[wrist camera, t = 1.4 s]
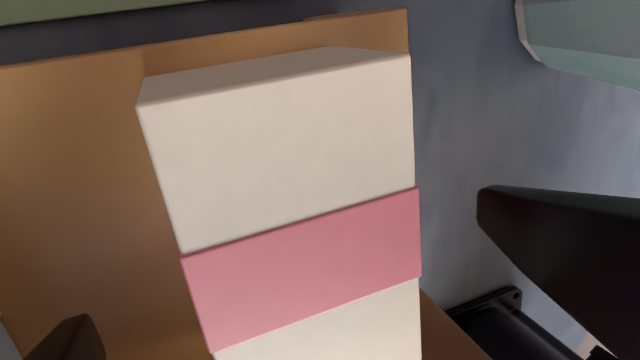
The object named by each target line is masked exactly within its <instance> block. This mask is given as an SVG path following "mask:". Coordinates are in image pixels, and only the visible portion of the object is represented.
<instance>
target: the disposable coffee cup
mask: <svg viewBox="0 0 640 360" xmlns="http://www.w3.org/2000/svg"><path fill="white" fill-rule="evenodd" d="M514 7H515V13H516V20H517V27H518V34H519V40H520V41H521V42H522V44H523V45H524V46H525V48H526V49H527V50H528V51H529V53H530V54H531V55H532V56H533V58H534V59H535V60H536V61H540V62H542V63H543V64H544V65H545V67H546V68H550V69H555V70H559V71H563V72H567V73H571V74H575V75H579V76H583V77H587V78H592V79H596V80H600V81H604V82H608V83H612V84H616V85H620V86H624V87H629V88H633V89H637V90H640V0H516V1H515V5H514Z"/></svg>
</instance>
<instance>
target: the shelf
mask: <svg viewBox="0 0 640 360" xmlns="http://www.w3.org/2000/svg"><path fill="white" fill-rule="evenodd" d="M326 46H339V47H350V48H361V49H372V50H383V51H393V52H404V53H408V54H409V42H408V16H407V8H406V7H396V8H386V9H375V10H365V11H354V12H343V13H335V14H328V15H321V16H314V17H307V18H304V19H303V21H300V22H294V23H287V24H280V25H273V26H266V27H260V28H253V29H246V30H239V31H233V32H226V33H219V34H212V35H205V36H199V37H192V38H185V39H178V40H172V41H165V42H158V43H151V44H144V45H138V46H131V47H124V48H117V49H111V50H104V51H97V52H90V53H84V54H77V55H70V56H63V57H56V58H50V59H43V60H36V61H29V62H23V63H16V64H9V65H2V66H0V313H1V315H0V320H1V322H2V323H3V325H4V327H5V329H6V330H7V332H8V334H9V336H10V337H11V339H12V341H13V343H14V344H15V346H16V348H17V350H18V351H19V353H20V355H21V357H22V358H24V357H25V356H26V355H27V354H28V353H29V352H30V351H31V350H32V349H33V348H34V347H35V346H36V345H37V344H38V343H39V342H41V341H42V340H43V339H44V338H45V337H46V336H47V335H48V334H49V333H50V332H51V331H52V330H53V329H54V328H55V327H56V326H57V325H58V324H59V323H60V322H61V321H62V320H64V319H67V318H70V317H73V316H76V315H80V314H83V313H86V314H88V315H89V316H90V317H91V318H92V320H93V322H94V325H95V327H96V329H97V331H98V334H99V336H100V338H101V340H102V342H103V345H104V348H105V352H106V360H214V358H213V355H212V354H210V353H209V352H208V349H207V346H206V343H205V340H204V337H203V333H202V330H201V327H200V324H199V321H198V318H197V315H196V311H195V308H194V305H193V302H192V299H191V296H190V293H189V290H188V286H187V283H186V280H185V277H184V274H183V271H182V268H181V264H180V261H179V255H178V244H177V241H176V237H175V234H174V231H173V228H172V225H171V222H170V218H169V215H168V212H167V209H166V206H165V203H164V199H163V196H162V193H161V190H160V187H159V183H158V180H157V177H156V174H155V171H154V168H153V164H152V161H151V158H150V155H149V152H148V149H147V145H146V142H145V139H144V136H143V133H142V129H141V126H140V123H139V120H138V117H137V114H136V110H135V105H136V102H137V98H138V95H139V92H140V89H141V86H142V83H143V79H144V78H145V77H149V76H154V75H160V74H166V73H172V72H178V71H184V70H190V69H196V68H202V67H208V66H213V65H219V64H225V63H231V62H237V61H243V60H249V59H255V58H261V57H267V56H273V55H278V54H284V53H290V52H296V51H302V50H308V49H314V48H320V47H326ZM419 299H420V326H421V353H422V359H421V360H492V359H491V358H490V357H489V356H488V355H487V354H486V353H485V352H484V351H483V350H482V349H481V348H480V347H479V346H478V345H477V344H476V343H475V342H474V341H473V340H472V339H471V338H470V337H469V336H468V335H467V334H466V333H465V332H464V331H463V330H462V329H461V328H460V327H459V326H458V325H457V324H456V323H455V322H454V321H453V320H452V319H451V318H450V317H449V316H448V315H447V314H446V313H444V312H443V311H442V310H441V309H440V308H439V307H438V306H437V305H436V304H435V303H434V302H433V301H432V300H431V299H430V298H429V297H428V296H427V295H426V294H425V293H424V292H423V291H422V290H421V289H420V288H419Z"/></svg>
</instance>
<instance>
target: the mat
mask: <svg viewBox="0 0 640 360" xmlns="http://www.w3.org/2000/svg"><path fill="white" fill-rule="evenodd" d="M203 1H212V0H0V27H2V26H10V25H18V24H26V23H34V22H42V21H50V20H58V19H66V18H74V17H82V16H90V15H99V14H107V13H115V12H123V11H131V10H139V9H147V8H155V7H163V6H171V5H179V4H187V3H195V2H203Z"/></svg>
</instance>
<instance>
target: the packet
mask: <svg viewBox="0 0 640 360" xmlns="http://www.w3.org/2000/svg"><path fill="white" fill-rule="evenodd" d="M135 110H136V114H137V117H138V120H139V123H140V126H141V129H142V133H143V136H144V139H145V142H146V145H147V149H148V152H149V155H150V158H151V161H152V164H153V168H154V171H155V174H156V177H157V180H158V183H159V187H160V190H161V193H162V196H163V199H164V203H165V206H166V209H167V212H168V215H169V218H170V222H171V225H172V228H173V231H174V234H175V237H176V241H177V244H178V255H179V261H180V264H181V268H182V271H183V274H184V277H185V280H186V283H187V286H188V290H189V293H190V296H191V299H192V302H193V305H194V308H195V311H196V315H197V318H198V321H199V324H200V327H201V330H202V333H203V337H204V340H205V343H206V346H207V349H208V352H209V353H210V354H212V355H213V358H214V360H421V359H422V353H421V326H420V299H419V277H420V276H422V259H421V228H420V197H419V187H418V186H417V185H415V162H414V135H413V107H412V80H411V57H410V54H408V53H404V52H393V51H383V50H372V49H361V48H350V47H339V46H326V47H320V48H314V49H308V50H302V51H296V52H290V53H284V54H278V55H273V56H267V57H261V58H255V59H249V60H243V61H237V62H231V63H225V64H219V65H213V66H208V67H202V68H196V69H190V70H184V71H178V72H172V73H166V74H160V75H154V76H149V77H145V78H144V79H143V83H142V86H141V89H140V92H139V95H138V98H137V102H136V105H135Z"/></svg>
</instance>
